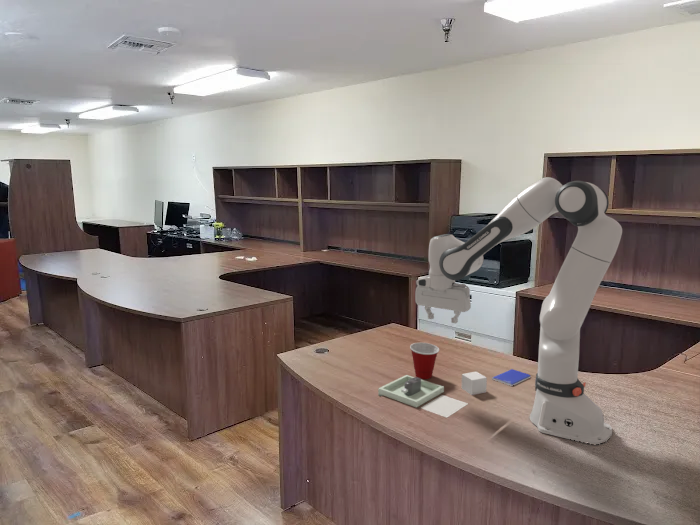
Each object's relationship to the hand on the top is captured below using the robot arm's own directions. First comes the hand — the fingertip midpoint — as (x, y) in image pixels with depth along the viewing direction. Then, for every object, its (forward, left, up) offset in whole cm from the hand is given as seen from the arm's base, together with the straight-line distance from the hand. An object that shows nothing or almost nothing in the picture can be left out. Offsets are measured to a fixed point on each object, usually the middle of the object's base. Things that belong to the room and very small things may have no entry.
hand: (442, 320), depth 172 cm
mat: (-9, +13, -25) cm, 29 cm away
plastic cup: (+10, -3, -25) cm, 27 cm away
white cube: (-10, -4, -25) cm, 27 cm away
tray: (+5, +12, -25) cm, 28 cm away
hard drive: (-15, -24, -25) cm, 38 cm away
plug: (+5, +11, -24) cm, 27 cm away
